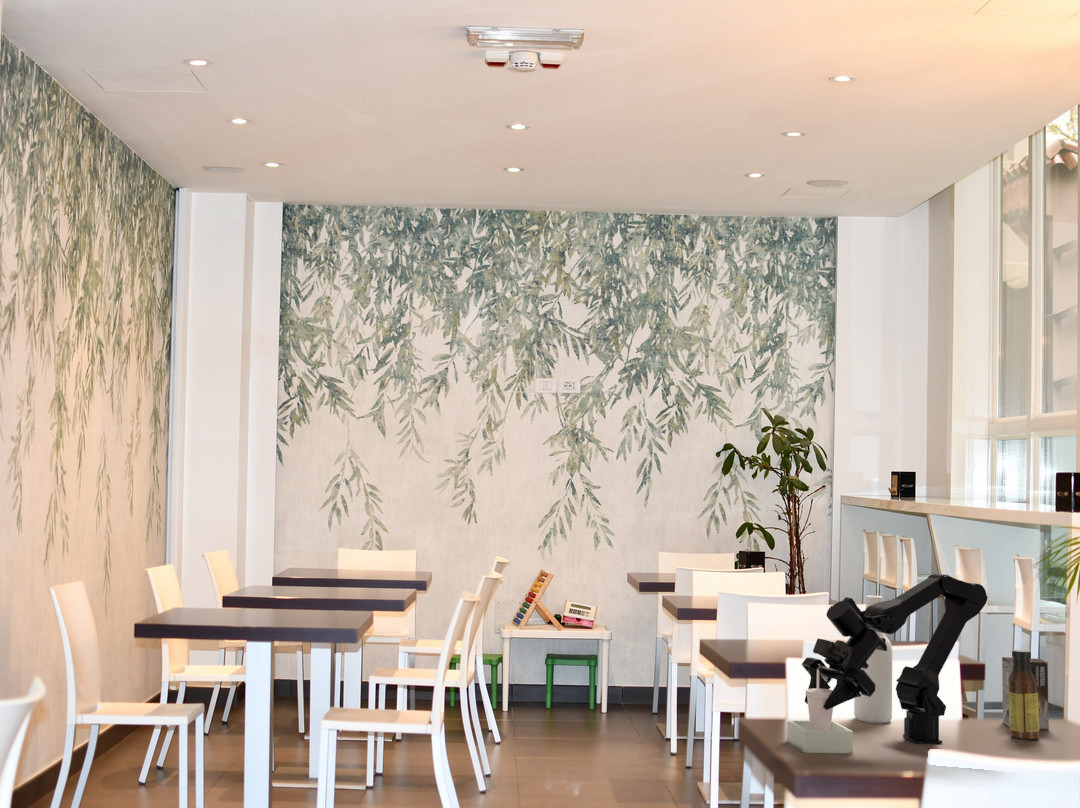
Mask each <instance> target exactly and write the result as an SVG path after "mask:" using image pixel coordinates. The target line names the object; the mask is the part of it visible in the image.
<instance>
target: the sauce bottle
mask: <svg viewBox="0 0 1080 808" xmlns="http://www.w3.org/2000/svg"><path fill="white" fill-rule="evenodd" d="M1011 656H1012V658H1013V671H1012V673H1011V674H1010V676H1009V678H1008V680H1009V714H1010V727H1009V729H1010V734H1011V737H1013V738H1015V739H1020V740H1028V741H1029V740H1030V741H1032V740H1033V741H1035V740H1038V739H1039V738H1040V733H1039V732H1040V729H1039V710H1038V692H1037V680H1036V678H1035V676H1034V674H1033V673H1032V671H1031V666H1030V665H1031V664H1030V658H1032V652H1031V650H1028V649H1012V650H1011Z"/></svg>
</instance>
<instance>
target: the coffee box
mask: <svg viewBox="0 0 1080 808" xmlns="http://www.w3.org/2000/svg"><path fill="white" fill-rule="evenodd" d="M1001 659H1002V661H1001V663H1002V664H1001V665H1002V666H1001V669H1002V672H1001V673H1002V676H1001V677H1002V678H1001V679H1002V680H1001V681H1002V686H1001V687H1002V723H1003V724H1005V725H1006V726H1007V727H1009V728H1010V714H1009V680H1008V678H1009V676H1010V674H1011V673H1012V671H1013V657H1006V656H1004V657H1003V656H1002V658H1001ZM1030 664H1031V665H1030V666H1031V671H1032V673H1033V674H1034V676H1035V678H1036V680H1037V692H1038V710H1039V730H1049V729H1050V722H1049V721H1050V718H1049V717H1050V715H1049V713H1050V712H1049V673H1048V672H1049V670H1048V669H1049V668H1048V667H1049V665H1048V661H1046V660H1044V659H1041V658H1032V657H1031V658H1030Z"/></svg>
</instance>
